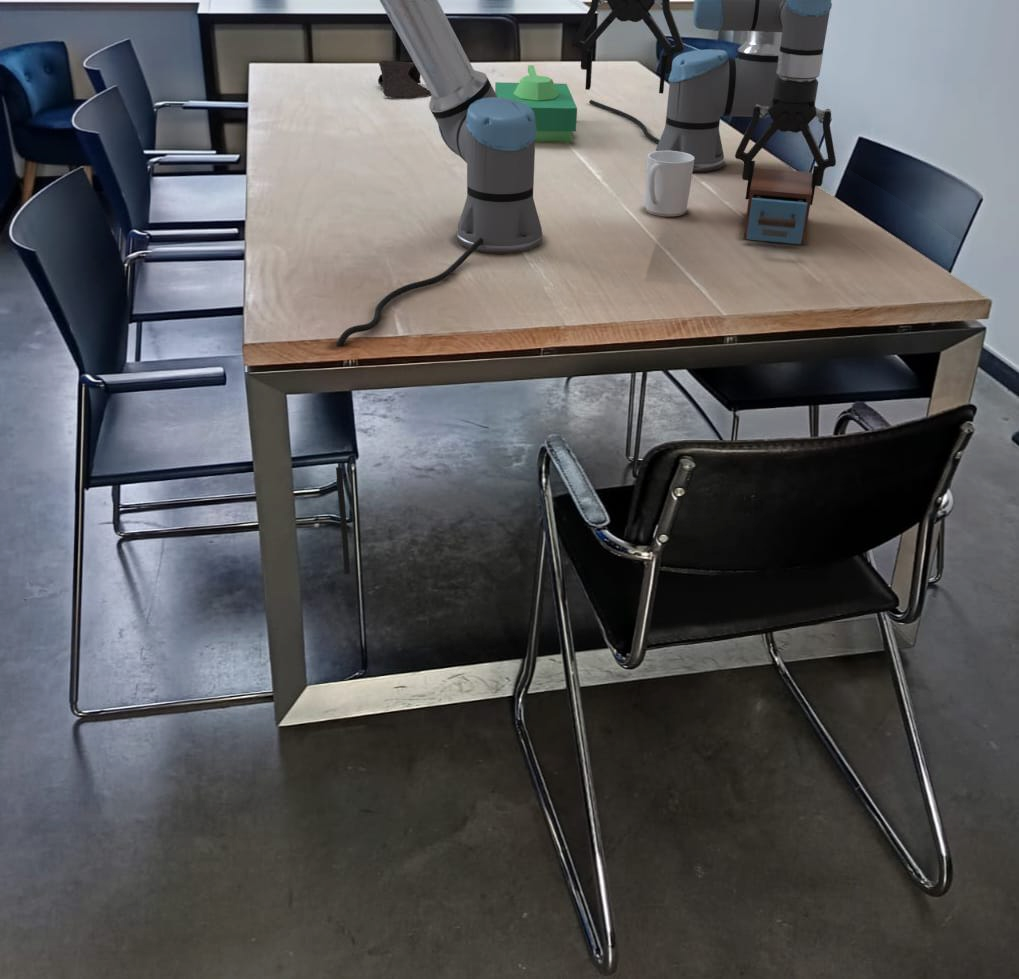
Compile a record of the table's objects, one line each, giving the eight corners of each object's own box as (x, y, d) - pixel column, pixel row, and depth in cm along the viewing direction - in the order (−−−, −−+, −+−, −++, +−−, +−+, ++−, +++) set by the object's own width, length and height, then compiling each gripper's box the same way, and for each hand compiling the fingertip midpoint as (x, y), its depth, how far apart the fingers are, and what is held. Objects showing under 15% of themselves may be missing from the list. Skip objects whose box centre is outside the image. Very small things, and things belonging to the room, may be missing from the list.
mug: (658, 200, 218) (663, 148, 212) (697, 210, 213) (703, 156, 208) (627, 213, 210) (631, 159, 205) (667, 223, 206) (672, 168, 200)
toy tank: (564, 61, 276) (578, 91, 246) (561, 111, 283) (575, 146, 253) (494, 60, 275) (499, 89, 245) (493, 110, 282) (498, 145, 252)
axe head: (443, 87, 294) (392, 77, 287) (436, 115, 299) (385, 106, 292) (421, 62, 307) (371, 52, 300) (414, 89, 311) (365, 80, 304)
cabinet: (803, 244, 197) (812, 194, 192) (743, 238, 199) (749, 189, 195) (804, 219, 210) (812, 172, 205) (747, 214, 212) (754, 167, 207)
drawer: (800, 254, 190) (807, 213, 186) (744, 248, 192) (750, 208, 188) (801, 221, 206) (808, 182, 202) (750, 216, 208) (755, 178, 204)
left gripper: (705, -36, 194) (692, 89, 205) (565, -41, 197) (560, 82, 208) (704, -31, 187) (691, 97, 198) (560, -37, 190) (555, 90, 202)
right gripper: (864, 77, 195) (842, 199, 207) (732, 69, 200) (718, 189, 211) (865, 86, 189) (842, 211, 200) (729, 76, 193) (715, 200, 205)
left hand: (624, 90), depth 203 cm, fingers open, 13 cm apart
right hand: (778, 200), depth 206 cm, fingers closed on cabinet, 11 cm apart
